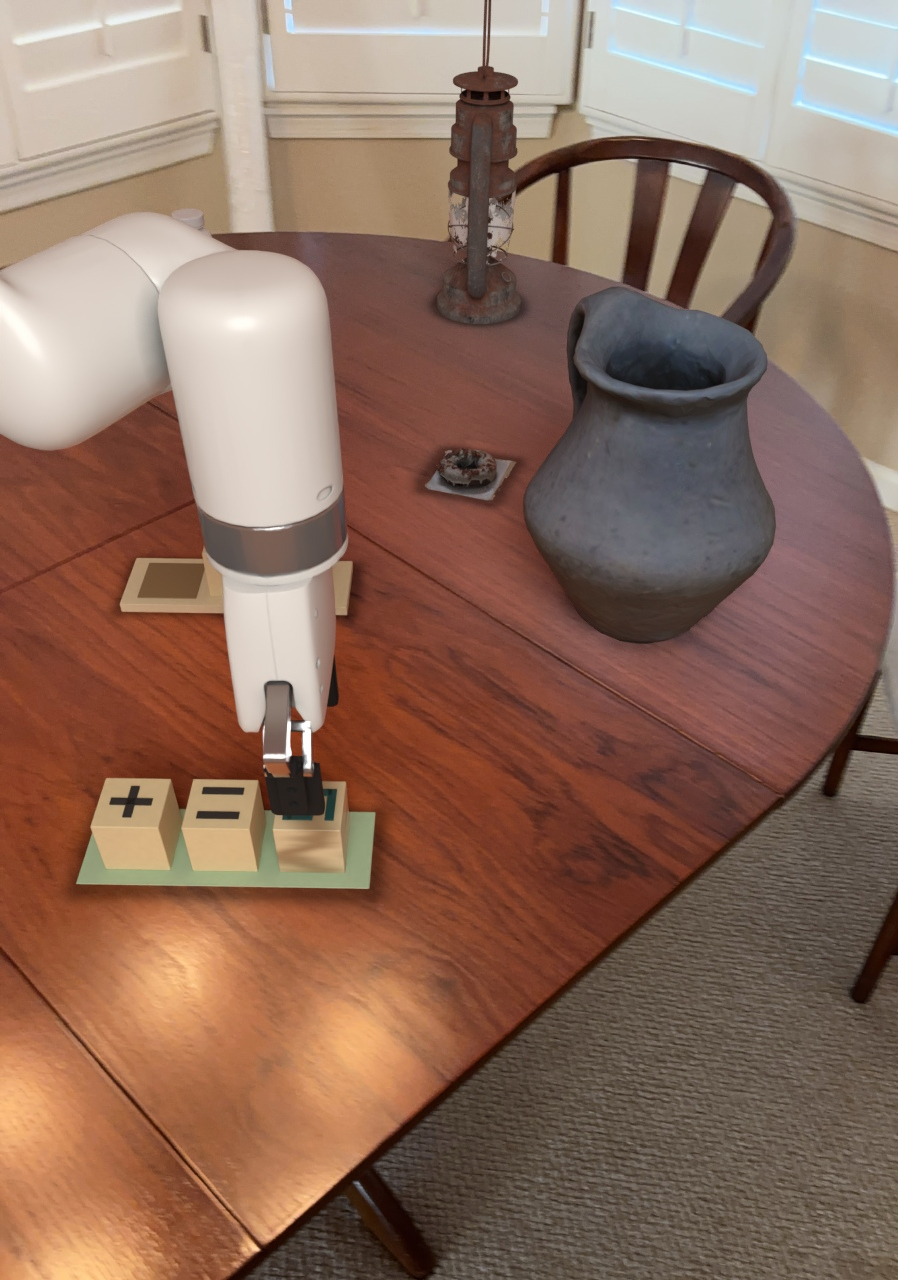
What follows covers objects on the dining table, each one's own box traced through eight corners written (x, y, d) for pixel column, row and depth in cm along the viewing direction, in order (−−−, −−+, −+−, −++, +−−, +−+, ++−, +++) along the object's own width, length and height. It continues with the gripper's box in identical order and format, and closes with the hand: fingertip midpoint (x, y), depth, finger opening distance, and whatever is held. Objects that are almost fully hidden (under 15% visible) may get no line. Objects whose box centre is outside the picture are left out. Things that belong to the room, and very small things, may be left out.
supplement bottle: (228, 293, 140) (217, 213, 132) (195, 305, 137) (182, 224, 130) (203, 282, 142) (191, 202, 135) (170, 293, 140) (156, 213, 132)
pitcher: (610, 714, 85) (658, 424, 67) (465, 577, 97) (472, 301, 79) (796, 630, 92) (885, 349, 74) (639, 513, 105) (682, 248, 86)
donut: (446, 450, 113) (446, 433, 111) (516, 463, 111) (517, 445, 109) (419, 490, 107) (419, 472, 106) (492, 504, 106) (493, 486, 104)
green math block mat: (79, 892, 72) (57, 839, 68) (103, 816, 77) (84, 762, 73) (370, 897, 72) (366, 844, 68) (376, 820, 77) (372, 767, 73)
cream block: (279, 872, 72) (272, 828, 69) (287, 823, 75) (280, 779, 72) (345, 873, 72) (340, 829, 69) (350, 824, 75) (346, 780, 72)
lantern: (430, 332, 132) (429, -15, 106) (442, 280, 143) (444, -46, 117) (517, 336, 132) (538, -11, 106) (523, 284, 143) (542, -43, 117)
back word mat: (121, 613, 93) (107, 559, 89) (138, 566, 98) (125, 514, 94) (347, 616, 93) (343, 563, 89) (353, 570, 98) (349, 517, 94)
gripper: (227, 436, 60) (266, 667, 73) (168, 622, 49) (227, 859, 61) (358, 436, 60) (374, 667, 73) (331, 623, 48) (356, 860, 61)
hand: (307, 755), depth 67 cm, fingers open, 9 cm apart
